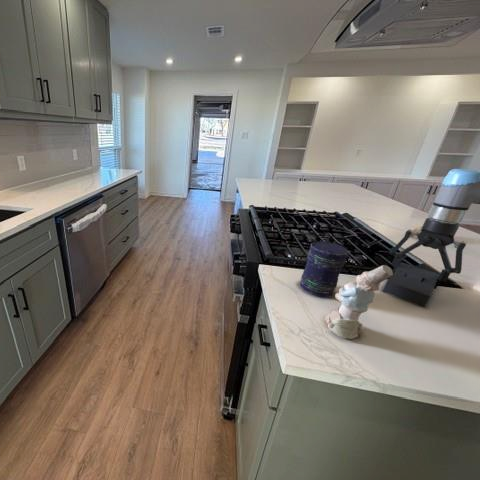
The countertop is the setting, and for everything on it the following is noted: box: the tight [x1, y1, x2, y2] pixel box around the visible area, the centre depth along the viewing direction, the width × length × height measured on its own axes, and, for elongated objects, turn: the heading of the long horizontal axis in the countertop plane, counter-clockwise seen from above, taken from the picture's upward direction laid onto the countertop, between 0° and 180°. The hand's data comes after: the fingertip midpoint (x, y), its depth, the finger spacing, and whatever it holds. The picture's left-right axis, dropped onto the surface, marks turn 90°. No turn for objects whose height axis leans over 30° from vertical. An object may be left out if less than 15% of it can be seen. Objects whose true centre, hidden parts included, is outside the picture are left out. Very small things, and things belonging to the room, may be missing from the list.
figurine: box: [325, 264, 393, 340], centre depth 62 cm, size 9×8×20 cm
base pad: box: [382, 270, 436, 308], centre depth 81 cm, size 10×12×4 cm
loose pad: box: [396, 262, 440, 282], centre depth 86 cm, size 10×11×4 cm
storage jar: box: [299, 240, 349, 299], centre depth 80 cm, size 10×10×15 cm
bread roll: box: [412, 226, 422, 240], centre depth 126 cm, size 10×10×8 cm
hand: (413, 280), depth 88 cm, fingers closed on loose pad, 10 cm apart
